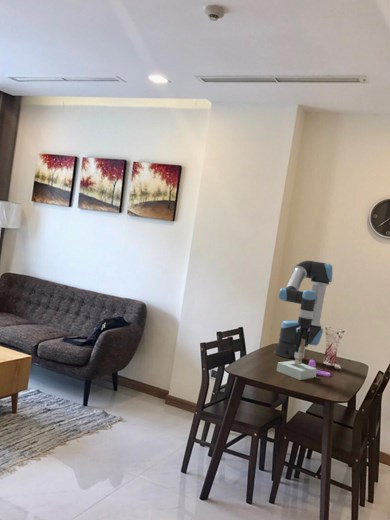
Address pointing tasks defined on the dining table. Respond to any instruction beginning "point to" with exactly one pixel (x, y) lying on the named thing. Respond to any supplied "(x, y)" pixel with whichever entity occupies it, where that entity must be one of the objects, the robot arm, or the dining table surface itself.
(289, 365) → the socket block
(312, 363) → the bracket
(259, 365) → the dining table surface
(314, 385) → the dining table surface
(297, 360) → the peg
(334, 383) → the dining table surface
